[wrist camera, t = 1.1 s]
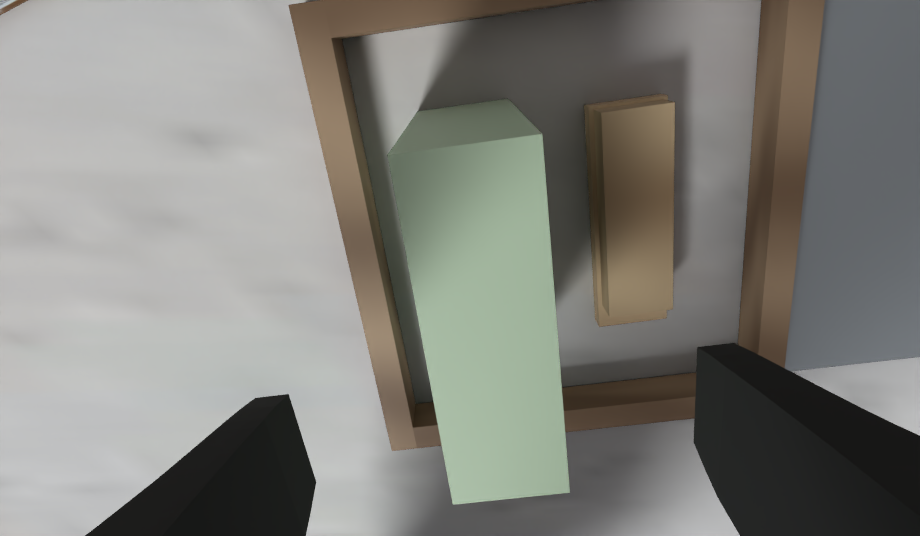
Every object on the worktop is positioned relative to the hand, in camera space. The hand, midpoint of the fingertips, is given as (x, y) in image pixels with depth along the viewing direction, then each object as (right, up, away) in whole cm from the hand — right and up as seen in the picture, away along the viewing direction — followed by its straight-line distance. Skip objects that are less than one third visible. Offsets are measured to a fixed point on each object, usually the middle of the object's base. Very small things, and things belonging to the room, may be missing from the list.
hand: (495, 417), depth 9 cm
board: (0, +4, +10) cm, 11 cm away
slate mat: (+14, +6, +9) cm, 18 cm away
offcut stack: (+5, +5, +10) cm, 12 cm away
